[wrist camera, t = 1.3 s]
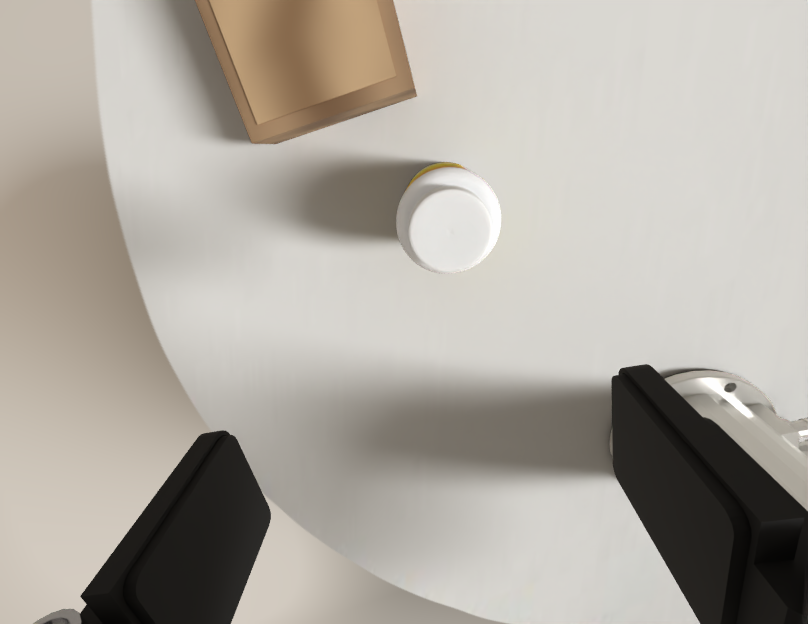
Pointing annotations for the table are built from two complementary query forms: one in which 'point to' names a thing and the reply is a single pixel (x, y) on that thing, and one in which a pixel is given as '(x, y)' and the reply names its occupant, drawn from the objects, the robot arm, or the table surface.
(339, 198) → the table surface
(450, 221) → the supplement bottle
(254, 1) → the base
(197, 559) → the robot arm
